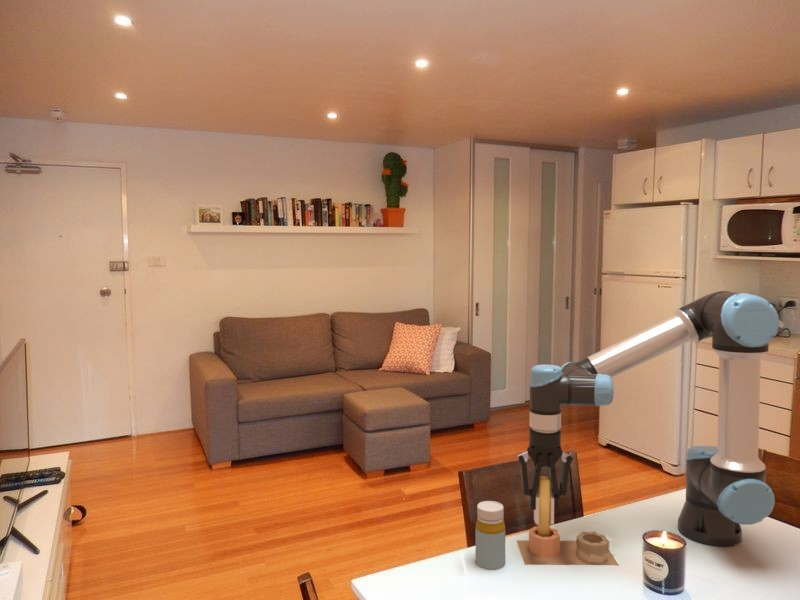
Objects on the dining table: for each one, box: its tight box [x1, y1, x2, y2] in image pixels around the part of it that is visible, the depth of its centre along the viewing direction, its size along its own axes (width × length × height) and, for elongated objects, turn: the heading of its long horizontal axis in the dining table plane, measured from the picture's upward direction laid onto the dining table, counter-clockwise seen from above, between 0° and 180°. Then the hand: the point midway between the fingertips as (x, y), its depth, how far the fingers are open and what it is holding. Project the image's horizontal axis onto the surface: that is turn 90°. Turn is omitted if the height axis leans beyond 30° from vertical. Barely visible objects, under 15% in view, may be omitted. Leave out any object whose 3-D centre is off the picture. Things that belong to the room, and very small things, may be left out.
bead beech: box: [575, 531, 610, 564], centre depth 145 cm, size 7×7×4 cm
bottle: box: [475, 500, 506, 571], centre depth 143 cm, size 7×7×15 cm
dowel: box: [536, 475, 551, 537], centre depth 148 cm, size 3×3×16 cm
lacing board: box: [516, 539, 619, 566], centre depth 148 cm, size 22×12×1 cm, turn 88°
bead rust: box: [528, 525, 561, 557], centre depth 149 cm, size 7×7×4 cm
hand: (543, 521), depth 148 cm, fingers closed on dowel, 3 cm apart
